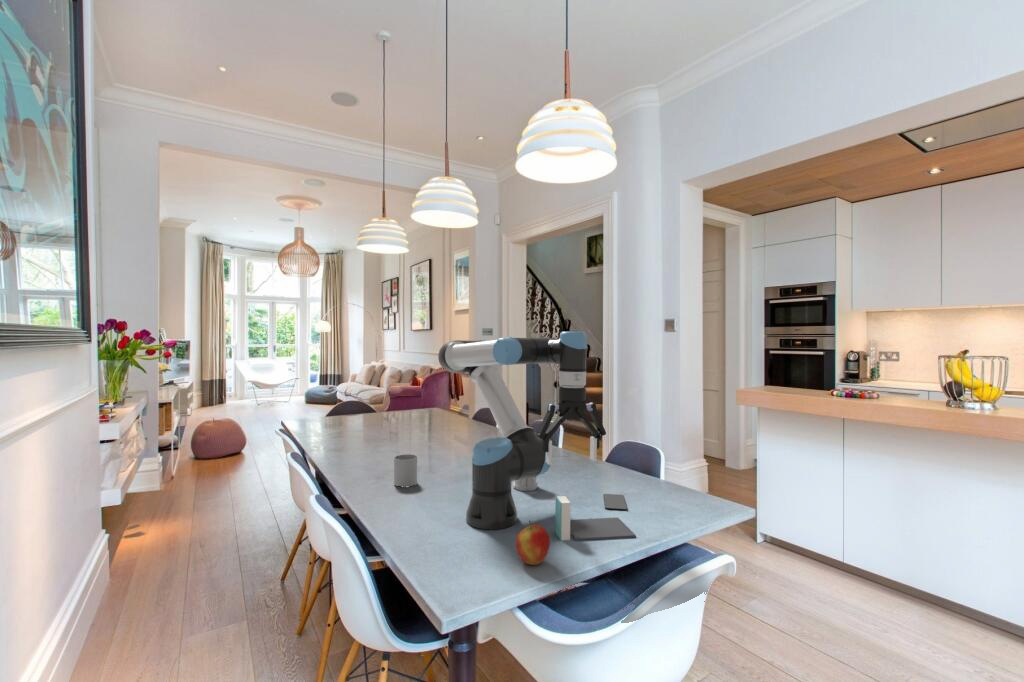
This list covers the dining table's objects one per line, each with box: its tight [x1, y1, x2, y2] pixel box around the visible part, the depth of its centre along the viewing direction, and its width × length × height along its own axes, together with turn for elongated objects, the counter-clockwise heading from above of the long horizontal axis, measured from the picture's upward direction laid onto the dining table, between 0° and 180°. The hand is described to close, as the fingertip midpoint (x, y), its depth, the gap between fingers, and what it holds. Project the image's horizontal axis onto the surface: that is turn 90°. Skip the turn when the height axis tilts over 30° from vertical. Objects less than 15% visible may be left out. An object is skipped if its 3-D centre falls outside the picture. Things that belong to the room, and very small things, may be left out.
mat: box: [570, 516, 637, 542], centre depth 133 cm, size 17×13×1 cm
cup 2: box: [513, 476, 538, 492], centre depth 171 cm, size 10×9×12 cm
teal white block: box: [554, 495, 571, 541], centre depth 128 cm, size 3×6×10 cm, turn 9°
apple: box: [515, 519, 551, 566], centre depth 113 cm, size 8×8×10 cm
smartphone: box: [603, 493, 628, 512], centre depth 155 cm, size 7×1×15 cm
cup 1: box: [393, 453, 418, 488], centre depth 174 cm, size 8×8×10 cm
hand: (571, 461), depth 132 cm, fingers open, 13 cm apart
